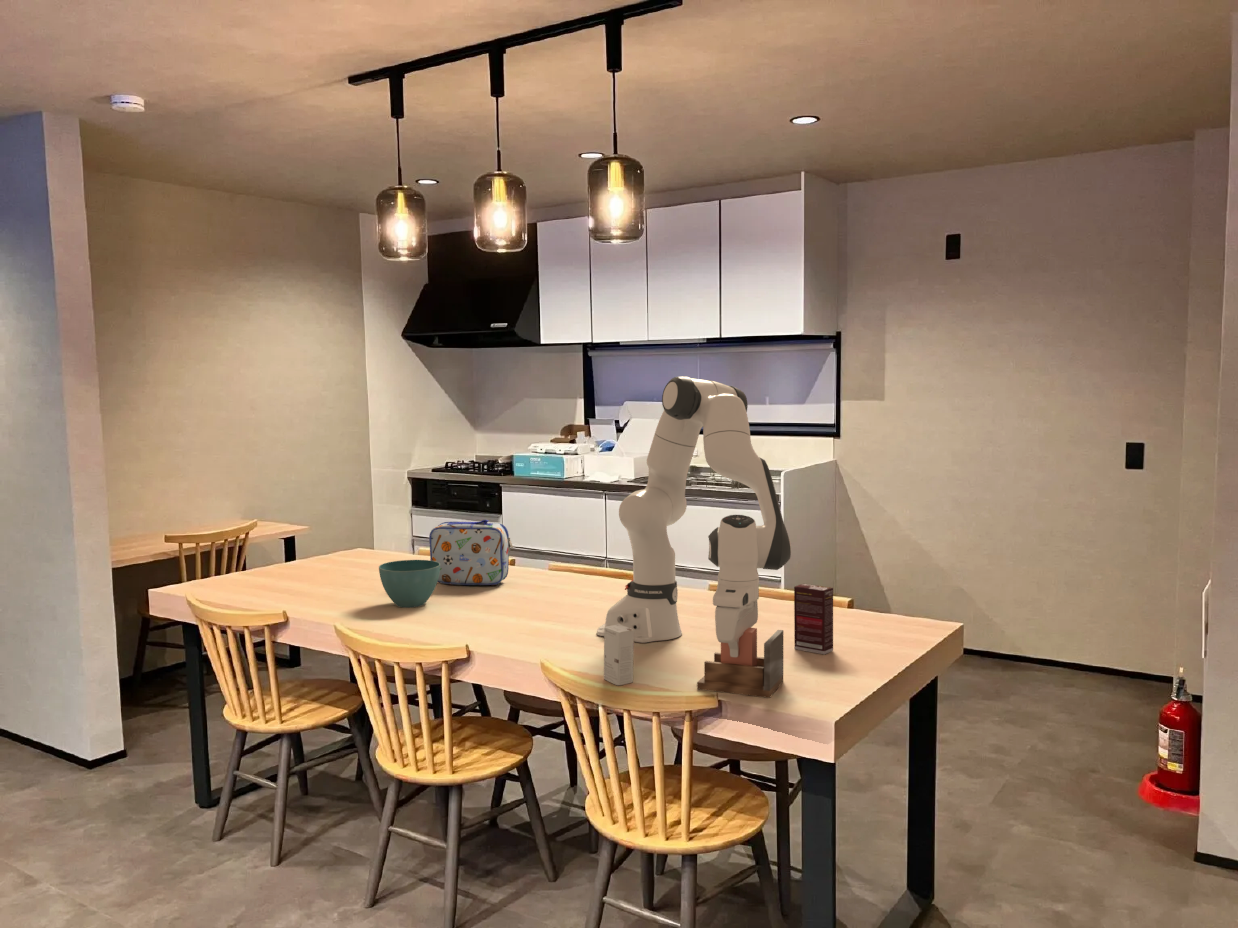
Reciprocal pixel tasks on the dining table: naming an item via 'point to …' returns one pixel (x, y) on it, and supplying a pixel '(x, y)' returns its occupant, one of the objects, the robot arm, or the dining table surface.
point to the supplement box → (813, 618)
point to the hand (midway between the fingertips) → (738, 652)
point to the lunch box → (470, 552)
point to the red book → (742, 649)
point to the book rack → (747, 672)
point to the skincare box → (618, 654)
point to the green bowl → (409, 581)
